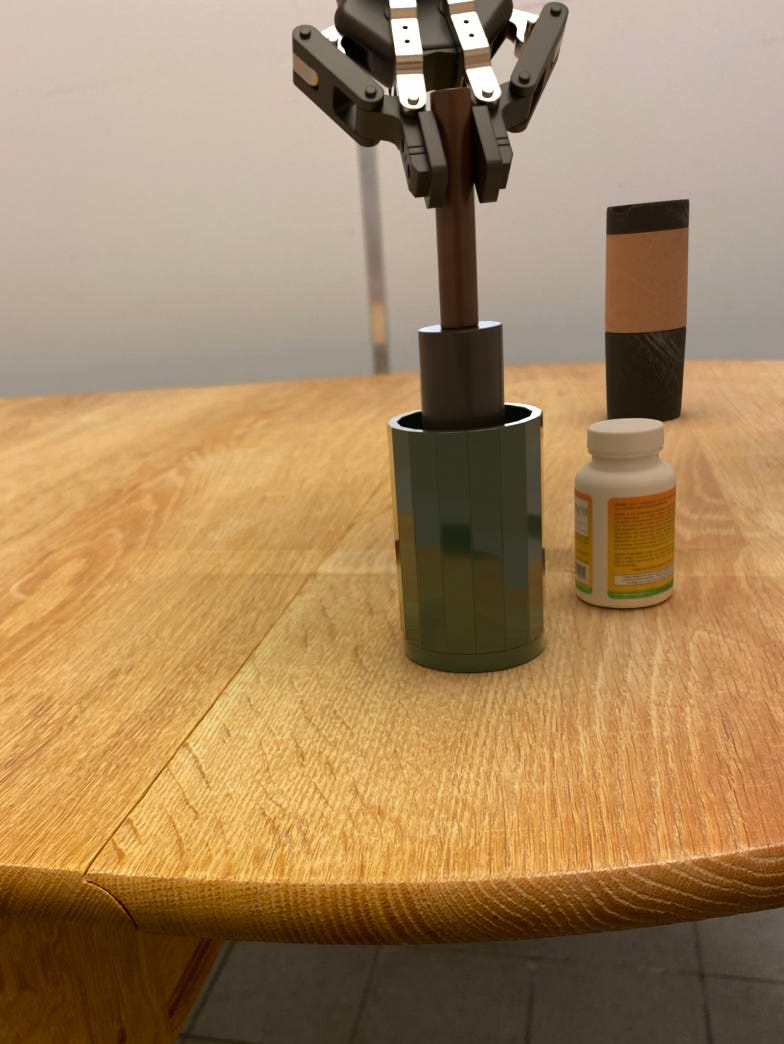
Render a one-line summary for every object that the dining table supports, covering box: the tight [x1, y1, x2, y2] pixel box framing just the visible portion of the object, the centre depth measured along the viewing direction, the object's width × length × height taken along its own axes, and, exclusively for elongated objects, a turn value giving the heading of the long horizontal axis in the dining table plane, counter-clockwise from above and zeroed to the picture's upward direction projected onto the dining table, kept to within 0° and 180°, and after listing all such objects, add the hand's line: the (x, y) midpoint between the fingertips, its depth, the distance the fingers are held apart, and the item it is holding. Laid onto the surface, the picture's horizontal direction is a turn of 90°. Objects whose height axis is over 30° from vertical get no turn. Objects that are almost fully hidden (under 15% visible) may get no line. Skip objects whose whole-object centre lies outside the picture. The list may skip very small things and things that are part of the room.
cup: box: [386, 402, 547, 673], centre depth 54 cm, size 7×7×12 cm
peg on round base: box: [416, 87, 506, 431], centre depth 50 cm, size 4×4×17 cm
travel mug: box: [604, 198, 690, 422], centre depth 104 cm, size 8×8×20 cm
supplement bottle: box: [573, 418, 677, 609], centre depth 59 cm, size 5×5×10 cm
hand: (465, 189), depth 46 cm, fingers closed on peg on round base, 2 cm apart
